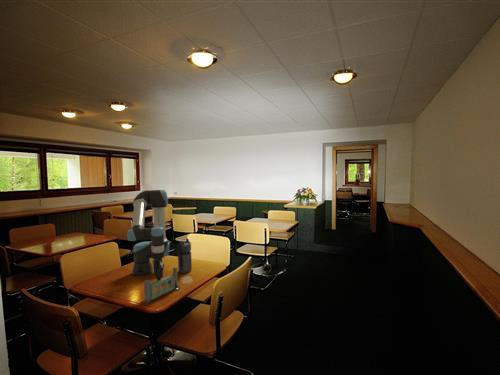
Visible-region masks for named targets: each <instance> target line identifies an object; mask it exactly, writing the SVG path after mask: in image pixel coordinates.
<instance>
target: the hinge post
mask: <svg viewBox="0 0 500 375" xmlns="http://www.w3.org/2000/svg"><path fill="white" fill-rule="evenodd" d="M172 272H173V274H172V275H175V289H173V290H171V291H172V292H173V291H175V292H177V291H178V290H180V289H181V286H180V285H179V286H178V267H177V266H174V267H173V268H172Z"/></svg>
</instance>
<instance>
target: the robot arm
mask: <svg viewBox="0 0 500 375" xmlns="http://www.w3.org/2000/svg"><path fill="white" fill-rule="evenodd" d="M132 205H133V214H132V222H131V223H132V224H131V229H130V228H129V229H127V235H126V237H127V241H129V242H137V241H141V242H138V243H136V244H134V246H133V266H132V270H131V275H132V276H135V277H140V276H146V275H149V274H151V273H153V274H154V277H155V282H156V281H158V280H161V279H163V278H164V276H163V274H164V267H165V263H163V258H165V257H168V256H169V253H170V241H169V240H168V239H167V236H166V208H167V207H168V206H167V205H169V198H168V192H167V190H165V189H154V190H153V189H152V190H150V189H149V190H147V189H146V190H143V191H141V192H139V193H138V194H137V195H136V196H135V197H134V199H133V202H132ZM148 206H150V207H151V209H152V212H153V227H145V218H146V208H147V207H148ZM143 240H150V241H151V242H150V241H143ZM151 259H152V263H151ZM155 288H156V289H157V286H156V287H155Z"/></svg>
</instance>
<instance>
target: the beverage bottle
mask: <svg viewBox="0 0 500 375" xmlns="http://www.w3.org/2000/svg"><path fill="white" fill-rule="evenodd" d="M189 240H190V239H189V238H186V241H180V242H179V243H178V244H177V252H178V253H177V262H178V263H177V266H178V267H177V272H179V273H182V274H188V273H189V272H191V271H192V266H193V265H192V251H191V250H192V242H191V241H189Z"/></svg>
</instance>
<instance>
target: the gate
mask: <svg viewBox="0 0 500 375" xmlns="http://www.w3.org/2000/svg"><path fill="white" fill-rule="evenodd" d="M169 281H170V285H169ZM162 284H163V285H164V286H163V287H164V289H162ZM156 286H157V288H156ZM150 287H151V301H152V300H154V299H157V298H158V297H160V296H162V295H164V294H167V293H168V292H169V293H170V291H172V290H173V289H175V275H173V274H170V275H169V276H166V277H162V278H161V280H158V281H156V280H155V281H154V282H151V283H150ZM155 288H156V290H157V291H156V292H155Z"/></svg>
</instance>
